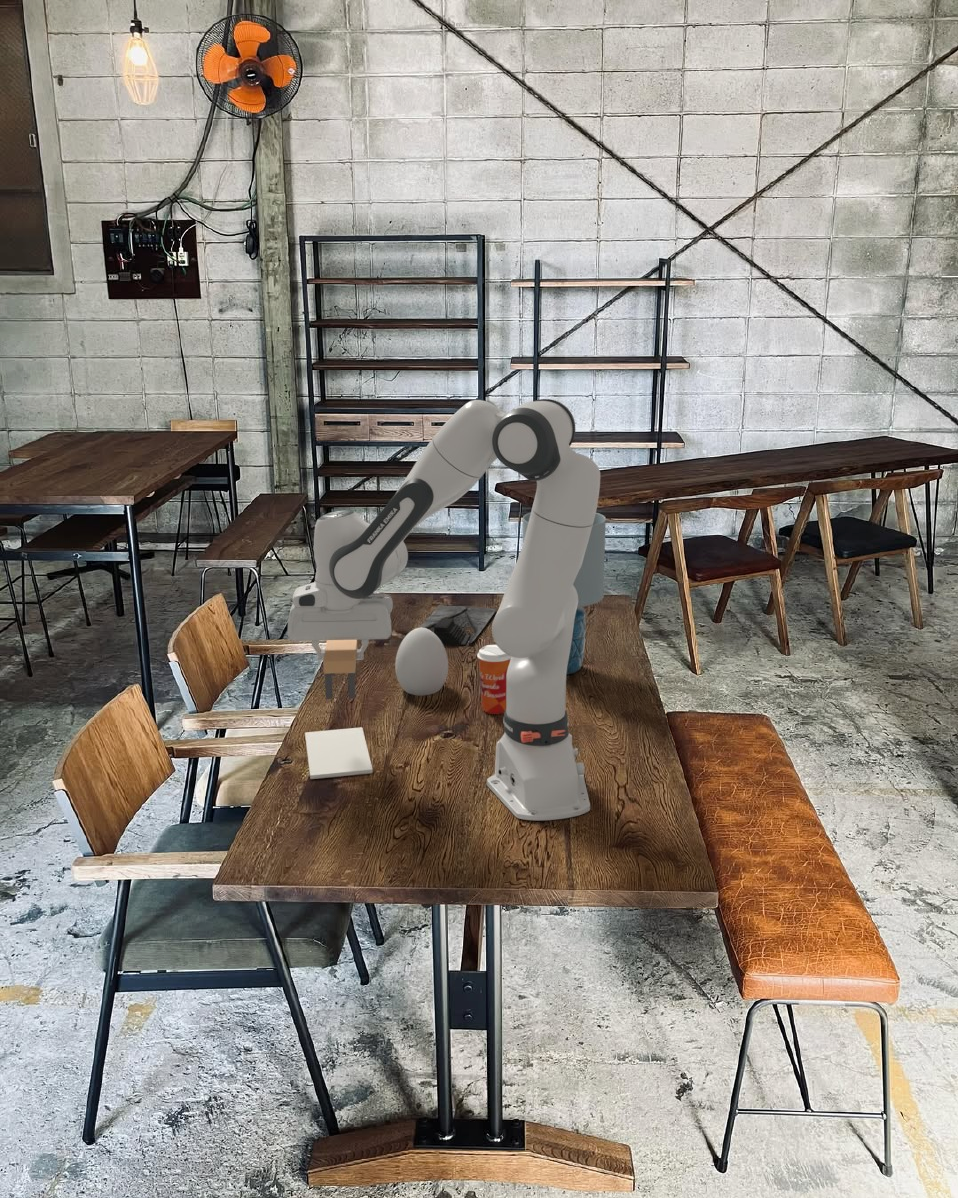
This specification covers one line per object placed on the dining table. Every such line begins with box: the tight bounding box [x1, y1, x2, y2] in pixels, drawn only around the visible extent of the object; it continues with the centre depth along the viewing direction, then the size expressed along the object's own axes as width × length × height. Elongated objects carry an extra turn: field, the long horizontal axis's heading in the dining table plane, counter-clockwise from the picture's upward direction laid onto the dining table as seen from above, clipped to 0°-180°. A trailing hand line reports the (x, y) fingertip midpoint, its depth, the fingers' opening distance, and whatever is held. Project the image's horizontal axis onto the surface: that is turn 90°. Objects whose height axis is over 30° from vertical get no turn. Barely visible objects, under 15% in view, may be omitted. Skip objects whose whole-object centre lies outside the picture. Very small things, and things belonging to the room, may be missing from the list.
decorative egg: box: [394, 627, 449, 697], centre depth 244 cm, size 12×12×15 cm
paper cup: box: [476, 644, 511, 715], centre depth 233 cm, size 8×8×14 cm
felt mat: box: [304, 726, 374, 780], centre depth 214 cm, size 20×12×1 cm, turn 12°
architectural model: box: [418, 604, 498, 647], centre depth 288 cm, size 17×6×30 cm
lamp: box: [522, 511, 607, 676], centre depth 252 cm, size 19×19×38 cm
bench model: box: [322, 640, 359, 700], centre depth 210 cm, size 14×6×8 cm, turn 4°
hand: (340, 659), depth 209 cm, fingers closed on bench model, 6 cm apart
